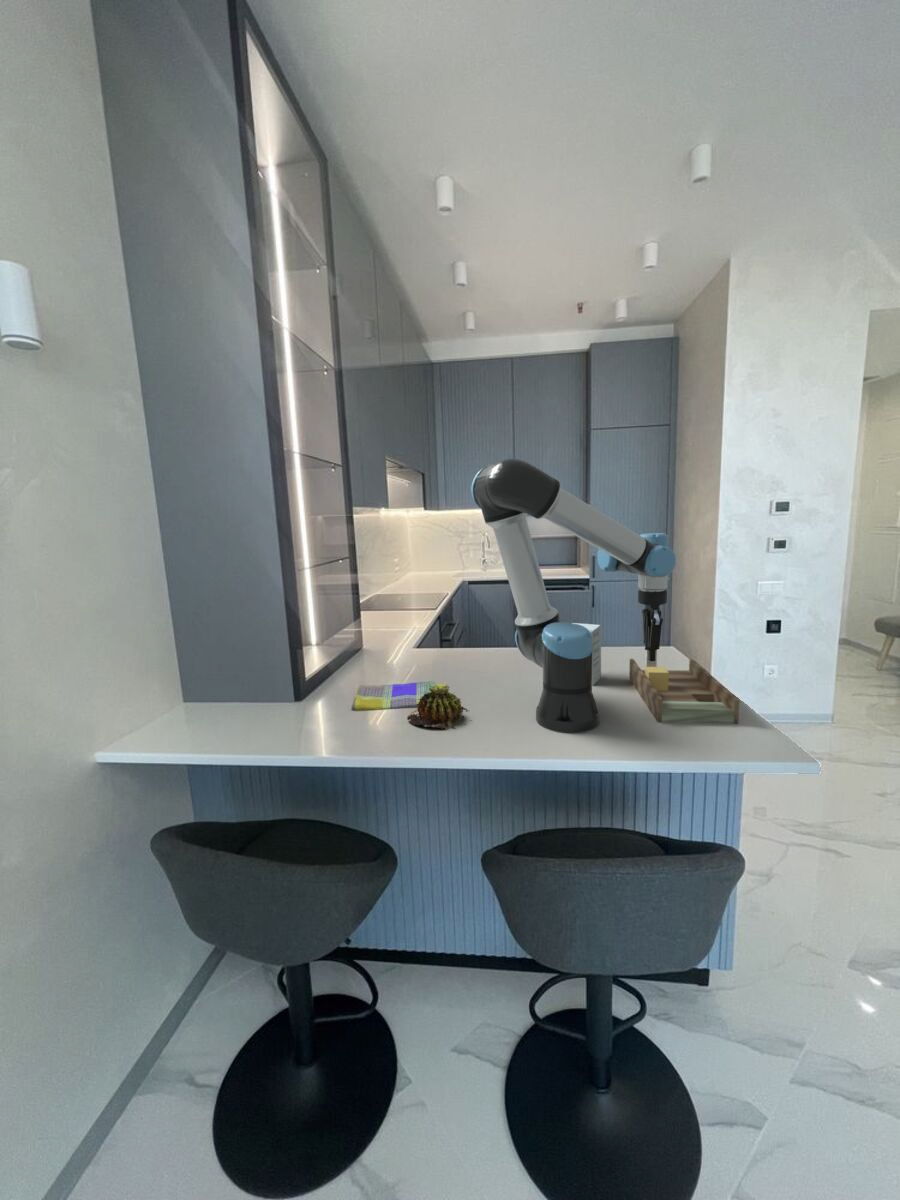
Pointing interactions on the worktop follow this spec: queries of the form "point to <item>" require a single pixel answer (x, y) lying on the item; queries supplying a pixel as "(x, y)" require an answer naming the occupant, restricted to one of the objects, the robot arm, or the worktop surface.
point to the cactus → (438, 708)
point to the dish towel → (390, 696)
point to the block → (658, 677)
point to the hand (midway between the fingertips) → (650, 670)
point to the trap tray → (687, 696)
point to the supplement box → (595, 650)
